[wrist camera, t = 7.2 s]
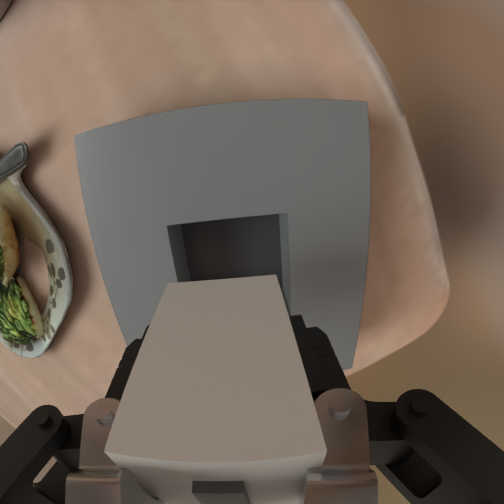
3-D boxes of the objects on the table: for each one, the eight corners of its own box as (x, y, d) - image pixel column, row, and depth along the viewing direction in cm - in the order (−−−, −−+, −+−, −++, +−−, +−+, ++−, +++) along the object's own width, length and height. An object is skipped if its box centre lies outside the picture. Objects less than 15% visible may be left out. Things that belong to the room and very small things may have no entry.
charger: (167, 283, 10) (100, 463, 3) (276, 274, 10) (331, 464, 3) (187, 362, 12) (165, 517, 5) (278, 356, 12) (309, 514, 5)
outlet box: (103, 135, 14) (74, 135, 11) (341, 108, 14) (367, 101, 11) (155, 354, 20) (145, 386, 17) (337, 337, 20) (351, 368, 17)
